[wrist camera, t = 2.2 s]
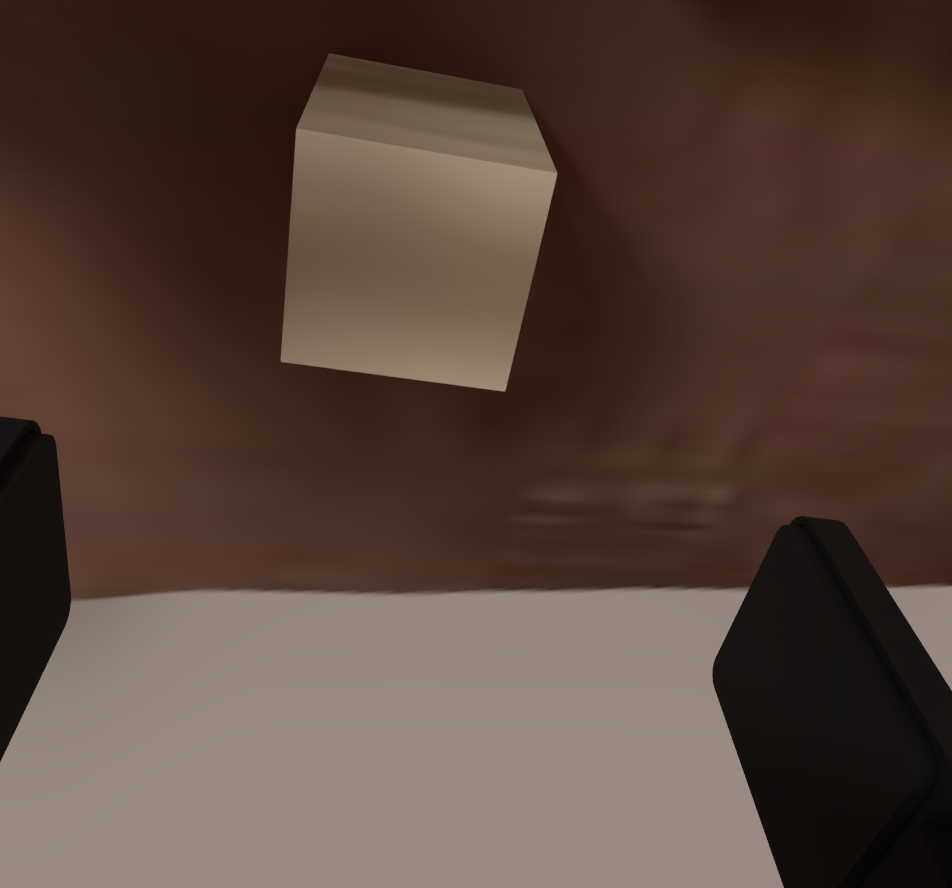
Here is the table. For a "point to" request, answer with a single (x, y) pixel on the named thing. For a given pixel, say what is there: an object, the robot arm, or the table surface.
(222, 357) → the table surface
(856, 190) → the table surface
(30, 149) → the table surface
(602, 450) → the table surface
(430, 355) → the beech block
